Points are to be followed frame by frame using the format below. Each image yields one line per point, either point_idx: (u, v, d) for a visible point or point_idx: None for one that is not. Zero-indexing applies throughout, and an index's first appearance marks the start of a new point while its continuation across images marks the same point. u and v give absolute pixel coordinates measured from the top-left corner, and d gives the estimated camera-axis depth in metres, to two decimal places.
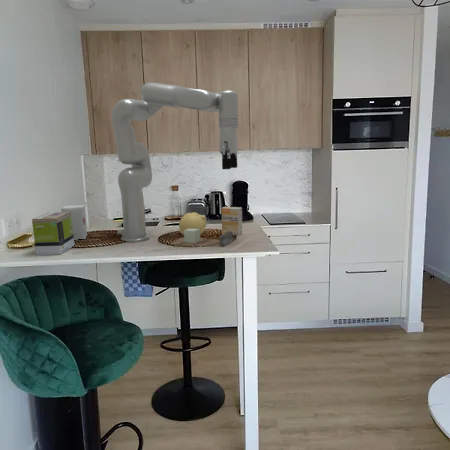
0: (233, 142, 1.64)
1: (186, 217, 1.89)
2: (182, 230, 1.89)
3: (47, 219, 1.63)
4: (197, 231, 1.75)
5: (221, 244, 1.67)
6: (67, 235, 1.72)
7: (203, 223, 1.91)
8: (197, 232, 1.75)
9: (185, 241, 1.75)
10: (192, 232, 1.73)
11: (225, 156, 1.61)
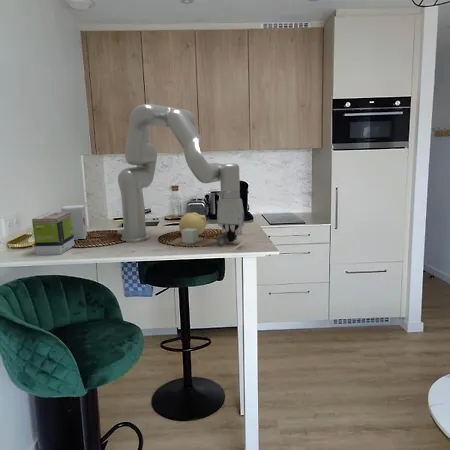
0: None
1: (186, 217, 1.89)
2: None
3: (47, 219, 1.63)
4: (195, 231, 1.76)
5: (218, 244, 1.68)
6: (67, 235, 1.72)
7: (203, 223, 1.91)
8: (194, 231, 1.75)
9: (183, 241, 1.75)
10: (190, 232, 1.74)
11: (236, 229, 1.70)
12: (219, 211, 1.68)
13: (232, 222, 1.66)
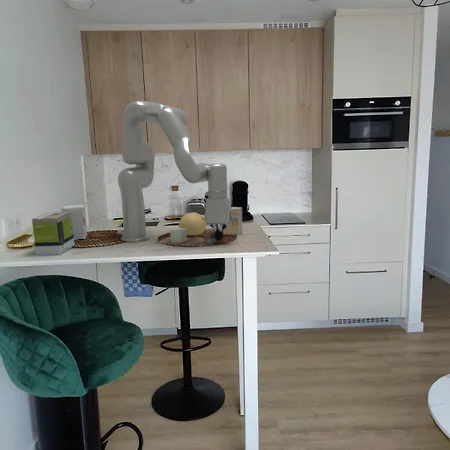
0: None
1: (186, 217, 1.89)
2: None
3: (47, 219, 1.63)
4: (183, 230, 1.77)
5: (206, 243, 1.69)
6: (67, 235, 1.72)
7: (203, 223, 1.91)
8: (183, 231, 1.77)
9: (171, 240, 1.77)
10: (178, 231, 1.75)
11: (224, 228, 1.71)
12: (207, 211, 1.69)
13: (220, 222, 1.68)
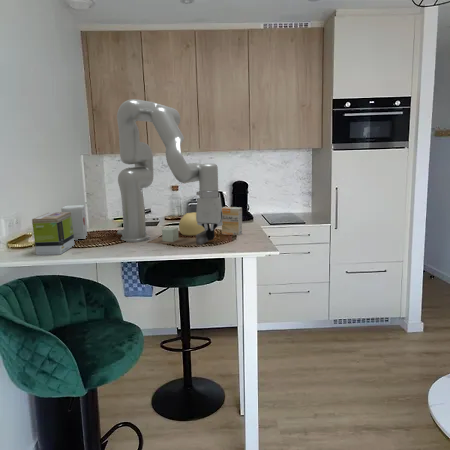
0: None
1: (186, 217, 1.89)
2: (182, 230, 1.89)
3: (47, 219, 1.63)
4: (175, 230, 1.79)
5: (197, 243, 1.71)
6: (67, 235, 1.72)
7: None
8: (175, 231, 1.78)
9: (163, 240, 1.78)
10: (170, 231, 1.77)
11: (215, 227, 1.73)
12: (198, 210, 1.70)
13: (211, 221, 1.69)
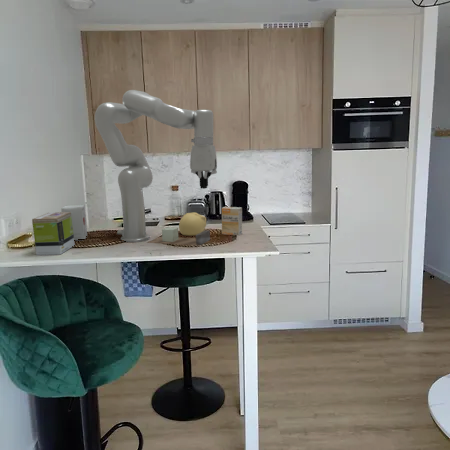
0: None
1: (186, 217, 1.89)
2: (182, 230, 1.89)
3: (47, 219, 1.63)
4: (175, 230, 1.79)
5: (197, 243, 1.71)
6: (67, 235, 1.72)
7: (203, 223, 1.91)
8: (174, 231, 1.78)
9: (163, 240, 1.79)
10: (170, 231, 1.77)
11: (209, 176, 1.71)
12: (192, 157, 1.69)
13: (204, 168, 1.68)
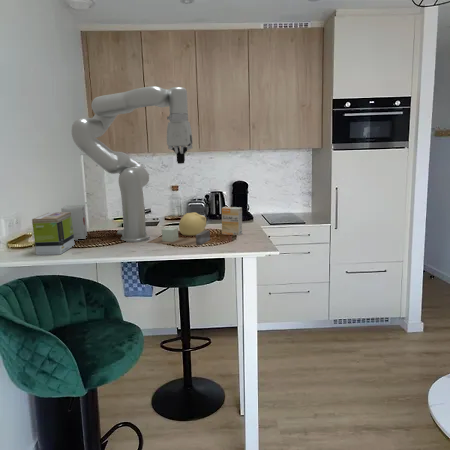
0: None
1: (186, 217, 1.89)
2: (182, 230, 1.89)
3: (47, 219, 1.63)
4: (175, 230, 1.79)
5: (197, 243, 1.71)
6: (67, 235, 1.72)
7: (203, 223, 1.91)
8: (174, 231, 1.78)
9: (163, 240, 1.79)
10: (170, 231, 1.77)
11: (185, 151, 1.78)
12: (168, 134, 1.76)
13: (180, 143, 1.75)
